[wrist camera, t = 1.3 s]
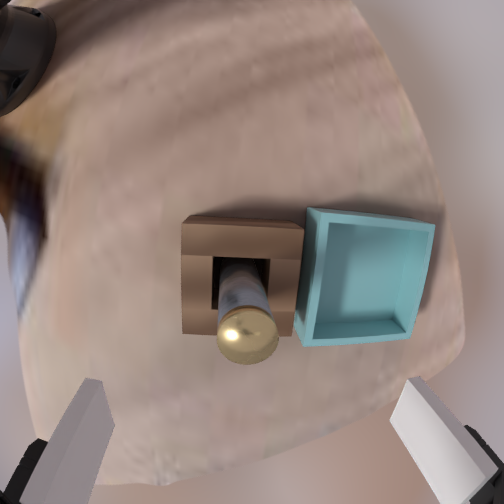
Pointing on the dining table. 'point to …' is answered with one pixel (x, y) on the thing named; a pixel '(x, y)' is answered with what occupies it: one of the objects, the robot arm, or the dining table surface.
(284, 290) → the block
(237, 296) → the steel pin
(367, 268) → the pin tray
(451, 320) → the dining table surface
